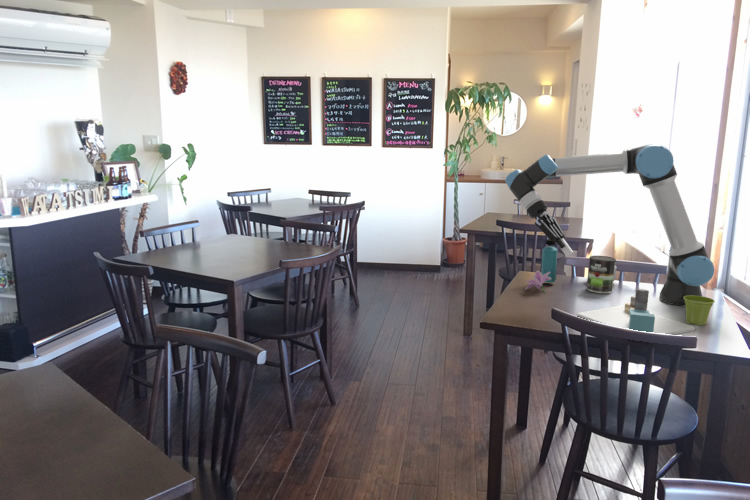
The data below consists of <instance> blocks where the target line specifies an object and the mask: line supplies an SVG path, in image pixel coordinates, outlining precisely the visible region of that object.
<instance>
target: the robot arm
mask: <svg viewBox="0 0 750 500" xmlns="http://www.w3.org/2000/svg"><path fill="white" fill-rule="evenodd" d="M621 172H623V174H626V175H627V174H628V175H629V174H634V175H635V174H636V175H637V174H638V176H639V178H640V181H641V184H642V186H643V187H644V188H646V189H648V190H649V192H650V194H651V197H652V199H653V202H654V205H655V208H656V210H657V212H658V215H659V218H660V221H661V223H662V227H663V228H664V232H665V234H666V237H667V239H668V242H669V245H670V248H669V249H668V250H669V253H668V254H669V255H668V265H667V272H666V280H665V282H664V284H663V286H662V289H661V290H660V292H659V298H658V299H659V300H660V301H662V302H665V303H667V304H671V305H676V306H682V307H686V304H685V299H684V298H683V297H684V296H688V295H694V296H703V292H702V289H701V286H703V285H705V284H707V283H708V282H710V281H711V280H712V278H713V277H714V275H715V266H714V262H712V260H711V259H710V258H709V256H708V254H707V251H706V250H707V249H706V248H705V245H704V243H702V242H700V241H698V239H697V237H696V234H695V232H694V229H693V226H692V224H691V222H690V221H691V220H690V219H689V216H688V213H687V210H686V207H685V205H684V202H683V199H682V198H681V195H680V192H679V189H678V187H677V184H676V183H677V182H675V180H676V178H677V176H678V173H677V171H676V168H675V165H674V156H673V153H672V152H671V150H669V149H668V148H667V147H666V146H664V145H662V144H658V143H652V144H646V145H642V146H638V147H632V148H626V149H624V150H623V151H621V152H620V151H619V152H609V153H598V154H586V155H575V156H566V157H565V156H563V157H555V158H554V157H553V158H551V156H550V155H549V154H544V155H543V156H542V157H541V156H540V157H539V159H536V161H535V162H533V163H532V164H531V165H530V166H528V167H527V168H526V169H524V170H520V169H515V170H513V171H511V172H510V173H509V174H508V175H507V176H506V177H505V180H504V181H505V183H506V185H507V186H508V189H509V191H511V193H512V194H513V195H514V197H515V198H516V200H517V201H518V202H519V203H520V205H521V207H523V209H524V210H526V213H527V214H528V216H529V217H530V219H535V222H534V225H535V226H537V227H538V228H539V230H541V231H542V233H543V234H544V235H545V236H546V238H547V239H550V240H551V241H552V242H553V241H554V242H553V243H554V244H555V245H556V244H557V246H558V247H559V248H560V250H561V251H562V252H563V255H565V257H569V256H570V255H572V254H573V253H574V251H573V249H572V248H571V246H570V245H569V243H568V242H567V241H566V240H565V237H566V235H565V233H564V231H563V230H562V228H561V226H560V224H559V223H558V220H557V217H556V216H555V215H553V216H551V215H550V213H549V212H547V209H548V205H547V203H546V202H544V200H542V197H541V196H540V194H539V193H538V192H537V191H536V189H535V187H536V186H537V185H539V184H540V183H541V182H543V181H544V180H545V179H546V178H555V177H557V178H558V177H569V176H582V175H593V174H595V175H597V174H608V173H621Z"/></svg>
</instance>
